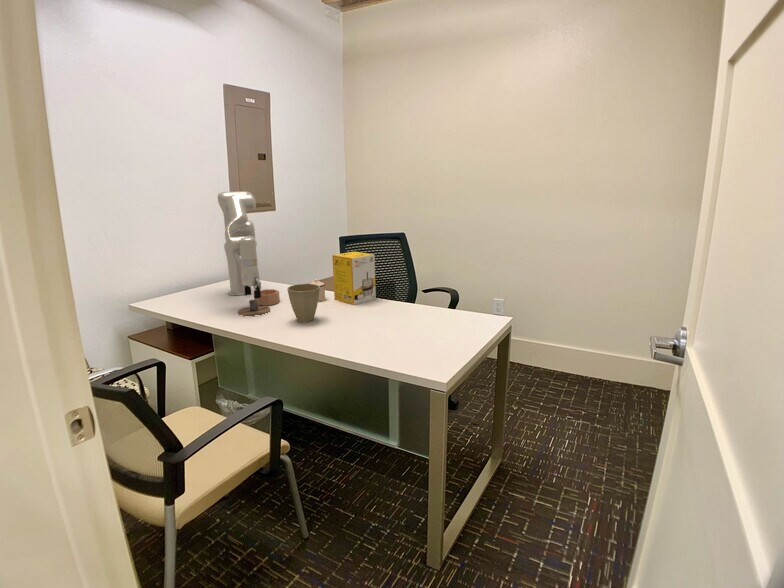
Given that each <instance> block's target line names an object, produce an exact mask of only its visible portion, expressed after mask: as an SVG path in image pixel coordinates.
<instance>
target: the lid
mask: <svg viewBox="0 0 784 588" xmlns="http://www.w3.org/2000/svg"><path fill="white" fill-rule="evenodd" d="M248 303H249V306H246V307H243V308H240V309H238V310H237V315H238V314H239V315H238V316H240V315H243V316H242V317H245V316H252V317H256V316H255V315H260V316H263V315H262V314H264V315H266V314H265V313H267V314H269V313H270V312H271V311H270V310H271V307H270V306H260V305H258V301H257V300H254V299H251V300H249V301H248ZM268 312H269V313H268Z"/></svg>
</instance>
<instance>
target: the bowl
mask: <svg viewBox="0 0 784 588" xmlns="http://www.w3.org/2000/svg"><path fill="white" fill-rule="evenodd" d="M260 292H261V298H256V299H255V297H254V293H253V294H252V295H253V300H257V301H258V306H260V305H269V306H273V305H272V304H274V305H276V304H279V302H280V299H281V298H280V290H277V289H262V290H260Z"/></svg>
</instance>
